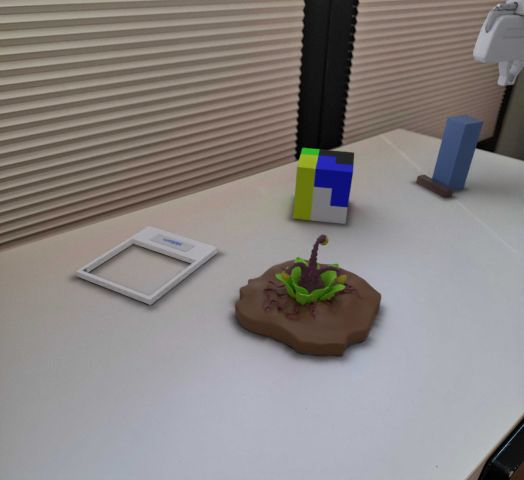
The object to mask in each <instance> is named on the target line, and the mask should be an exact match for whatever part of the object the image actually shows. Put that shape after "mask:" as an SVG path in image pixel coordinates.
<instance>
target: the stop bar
mask: <svg viewBox="0 0 524 480" xmlns="http://www.w3.org/2000/svg"><path fill="white" fill-rule="evenodd" d="M416 183H417V184H419V185H420V186H421V187H423V188H426V189H427V190H430V192H433V193H435V194H436V195H439V196H440V197H442V198H444V199H447V198H451V197H453V194H454V192H455V191H454V190H453V189H451V188H450V187H448V186H446V185H444V184H442V183H440V182H438V181H436V180H434V179H432V177H430V176H428V175H427V174H421V175H417V178H416Z"/></svg>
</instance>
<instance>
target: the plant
mask: <svg viewBox="0 0 524 480" xmlns="http://www.w3.org/2000/svg"><path fill="white" fill-rule="evenodd" d="M329 240H330V239H329V237H328V236H327V235H326V234H320V235H319V236H318V237H317V238H316V241H315V243H313V246H312V249H311V251H310V257H309V258H308V259H305V258H301V257H300V256H297V257H295V258H294V259H291V260H286V261H284V262H281V263H278V264H274V265H272V266H271V267H269V268H268V269H267V270H266V271H265V272H263V273H262V274H261V275H260V276H258V277H253V278H249V279H248V280H247V284H246V285H243V286H241V287H240V288H239V300H238V301H236V302H235V304H234V313H235V317H236V319H237V321H238V323H239V324H240V325H241V326H242V327H243V328H244V329H245V330H247V331H250V332H251V333H255V334H258V335H261V336H265V337H269V338H271V339H273V340H276V341H278V342H281V343H282V344H284V345H287V346H288V347H290V348H292V349H293V350H295V351H296V352H297V353H299V354H307V355H308V354H309V355H312V356H313V355H314V356H321V357H322V356H339V357H340V356H343V355H344V353H345V351H346V349H347V348H348V347H350V346H351V345H355V344H357V343H362V342H364V341H365V340H366V339H367V338H368V335H369V333H370V331H371V328H372V326H373V323H374V321H375V318H376V316H377V315H378V312H379V310H380V306H381V302H382V294H381V293H380V292H379V291H377V289H375V288H374V287H373V286H372V285H371V284H369V282H367V281H366V279H364V278H363V277H361V276H360V275H357V274H356V273H354V272H352V271H349V270H347V269H344V268H342V267H340V265H339V263H319V262H318V255H319V253H318V252H319V246H320V245H321V246H327V244H328V243H329Z"/></svg>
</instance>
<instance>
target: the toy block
mask: <svg viewBox="0 0 524 480" xmlns="http://www.w3.org/2000/svg"><path fill="white" fill-rule="evenodd" d="M483 125H484V120H482V119H479V118H476V117H474V116H470V115H468V114H460V115H454V116H448V117H447V118H446V122H445V127H444V131H443V133H442V138H441V141H440V142H441V143H440V145H439V150H438V154H437V158H436V162H435V165H434V169H433V173H432V176H431V178H432V179H434V180H436V181H438V182H440V183H442V184H444V185H446V186H448V187H450V188H451V189H453V190H454V191H453V192H455V191H459V190H463V189H465V185H466V181H467V180H468V179H467V178H468V175H469V172H470V168H471V165H472V161H473V158H474V155H475V152H476V148H477V145H478V142H479V138H480V136H481V132H482V129H483Z"/></svg>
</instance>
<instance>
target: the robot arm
mask: <svg viewBox="0 0 524 480" xmlns="http://www.w3.org/2000/svg"><path fill="white" fill-rule="evenodd" d="M472 52H473V53H472V55H473V60H474V61H477V62H480V63H484V64H492V63H493V64H494V63H498V73H499V76H498V78H497V85H499V86H501V87H504V86H511V85H512V86H513V85H514V84H515V82H516V79H517V77H518V75H519V74H520V72H521V71H522V70H523V68H524V0H506V1H505V3H504V2H499V3H498V2H497V4H496V5H495V6H493V7H492V9H491V10H489V12H488V14H487V17H486V19H485V20H484V22H483V24H482V26H481V29H480V31H479V33H478V36H477V39H476V42H475V45H474V47H473V51H472Z"/></svg>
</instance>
